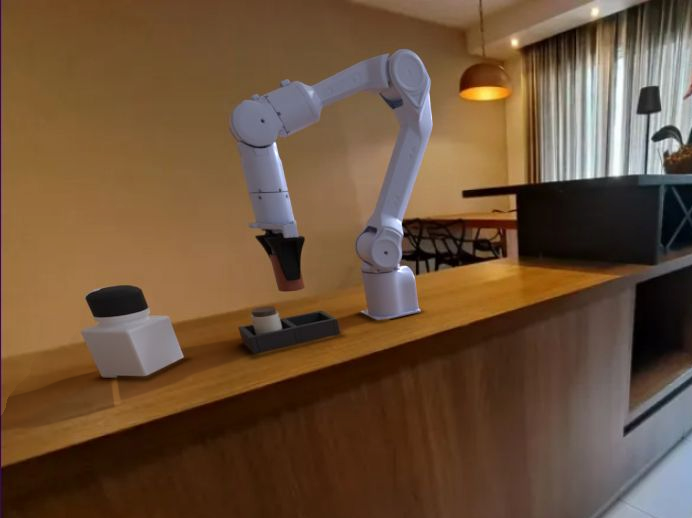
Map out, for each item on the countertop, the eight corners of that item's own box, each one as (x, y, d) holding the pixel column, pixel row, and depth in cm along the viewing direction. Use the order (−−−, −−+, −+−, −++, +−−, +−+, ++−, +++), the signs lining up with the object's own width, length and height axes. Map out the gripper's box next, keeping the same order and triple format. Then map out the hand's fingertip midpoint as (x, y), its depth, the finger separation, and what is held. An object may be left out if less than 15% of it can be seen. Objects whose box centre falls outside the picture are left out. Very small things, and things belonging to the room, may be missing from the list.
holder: (325, 327, 81) (321, 310, 79) (340, 336, 76) (337, 318, 75) (243, 345, 73) (238, 327, 71) (255, 357, 68) (249, 337, 67)
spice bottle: (300, 284, 79) (290, 241, 76) (308, 288, 76) (297, 243, 73) (275, 288, 77) (263, 243, 74) (282, 292, 74) (270, 246, 71)
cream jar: (281, 336, 75) (273, 304, 72) (288, 342, 72) (280, 309, 70) (255, 342, 72) (246, 309, 70) (262, 348, 70) (252, 314, 67)
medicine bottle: (186, 360, 67) (157, 282, 62) (147, 379, 61) (111, 294, 56) (143, 359, 68) (112, 281, 63) (100, 378, 62) (61, 294, 57)
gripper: (230, 192, 73) (253, 275, 78) (252, 194, 63) (276, 288, 69) (276, 190, 77) (294, 269, 83) (303, 192, 67) (321, 281, 73)
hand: (289, 277), depth 76 cm, fingers closed on spice bottle, 4 cm apart
